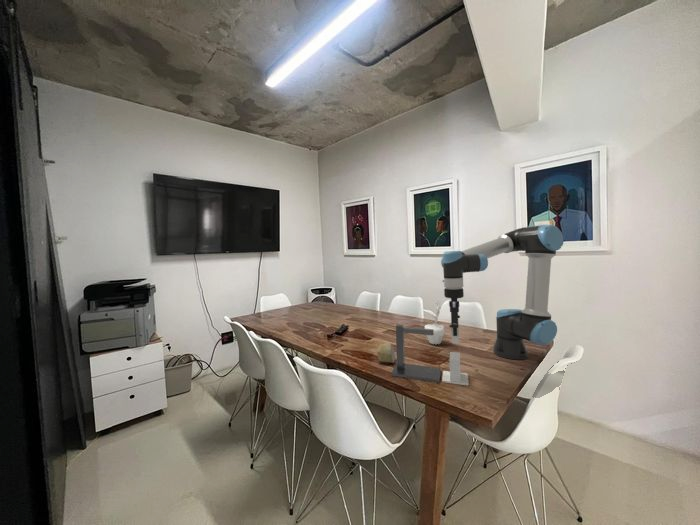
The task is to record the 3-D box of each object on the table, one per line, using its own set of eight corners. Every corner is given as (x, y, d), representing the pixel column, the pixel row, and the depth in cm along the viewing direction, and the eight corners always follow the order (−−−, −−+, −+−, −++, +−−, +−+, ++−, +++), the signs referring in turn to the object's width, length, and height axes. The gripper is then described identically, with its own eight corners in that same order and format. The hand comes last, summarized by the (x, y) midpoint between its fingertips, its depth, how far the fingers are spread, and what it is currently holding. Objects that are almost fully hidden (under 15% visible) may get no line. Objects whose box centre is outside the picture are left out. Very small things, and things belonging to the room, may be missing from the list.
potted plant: (447, 341, 162) (446, 300, 161) (442, 347, 152) (441, 303, 151) (426, 338, 169) (425, 298, 168) (420, 344, 159) (419, 301, 158)
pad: (467, 375, 118) (467, 373, 118) (468, 385, 108) (468, 384, 108) (443, 371, 121) (443, 370, 121) (442, 381, 112) (442, 380, 112)
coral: (398, 352, 127) (379, 342, 130) (390, 370, 130) (371, 360, 133) (402, 344, 136) (384, 335, 139) (394, 361, 139) (377, 351, 142)
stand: (441, 370, 123) (440, 324, 122) (439, 382, 112) (438, 332, 111) (397, 365, 130) (396, 321, 129) (391, 375, 119) (390, 328, 118)
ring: (460, 373, 118) (459, 352, 118) (460, 382, 110) (460, 360, 110) (450, 371, 120) (450, 351, 120) (449, 381, 111) (449, 359, 111)
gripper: (445, 284, 127) (447, 328, 127) (442, 292, 103) (445, 347, 104) (462, 283, 124) (464, 329, 125) (463, 292, 101) (466, 349, 102)
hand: (455, 337), depth 115 cm, fingers open, 13 cm apart
